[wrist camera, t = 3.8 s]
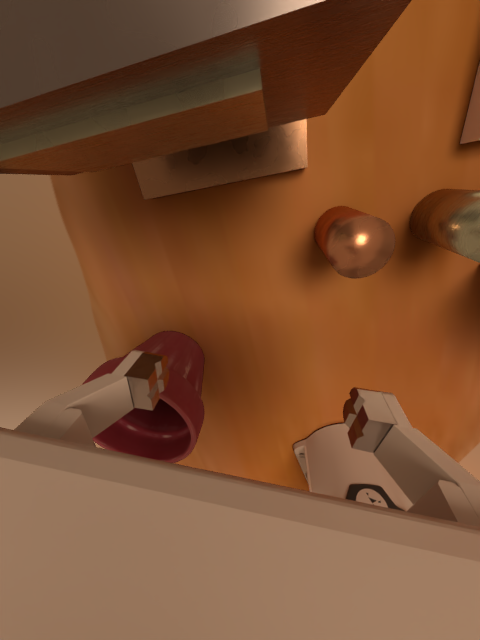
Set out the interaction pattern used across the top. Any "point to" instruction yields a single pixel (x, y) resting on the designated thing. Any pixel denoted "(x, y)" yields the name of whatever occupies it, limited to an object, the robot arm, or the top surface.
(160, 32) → the mounted unit
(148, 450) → the plant pot
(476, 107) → the tray
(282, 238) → the top surface
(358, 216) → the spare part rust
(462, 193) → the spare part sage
